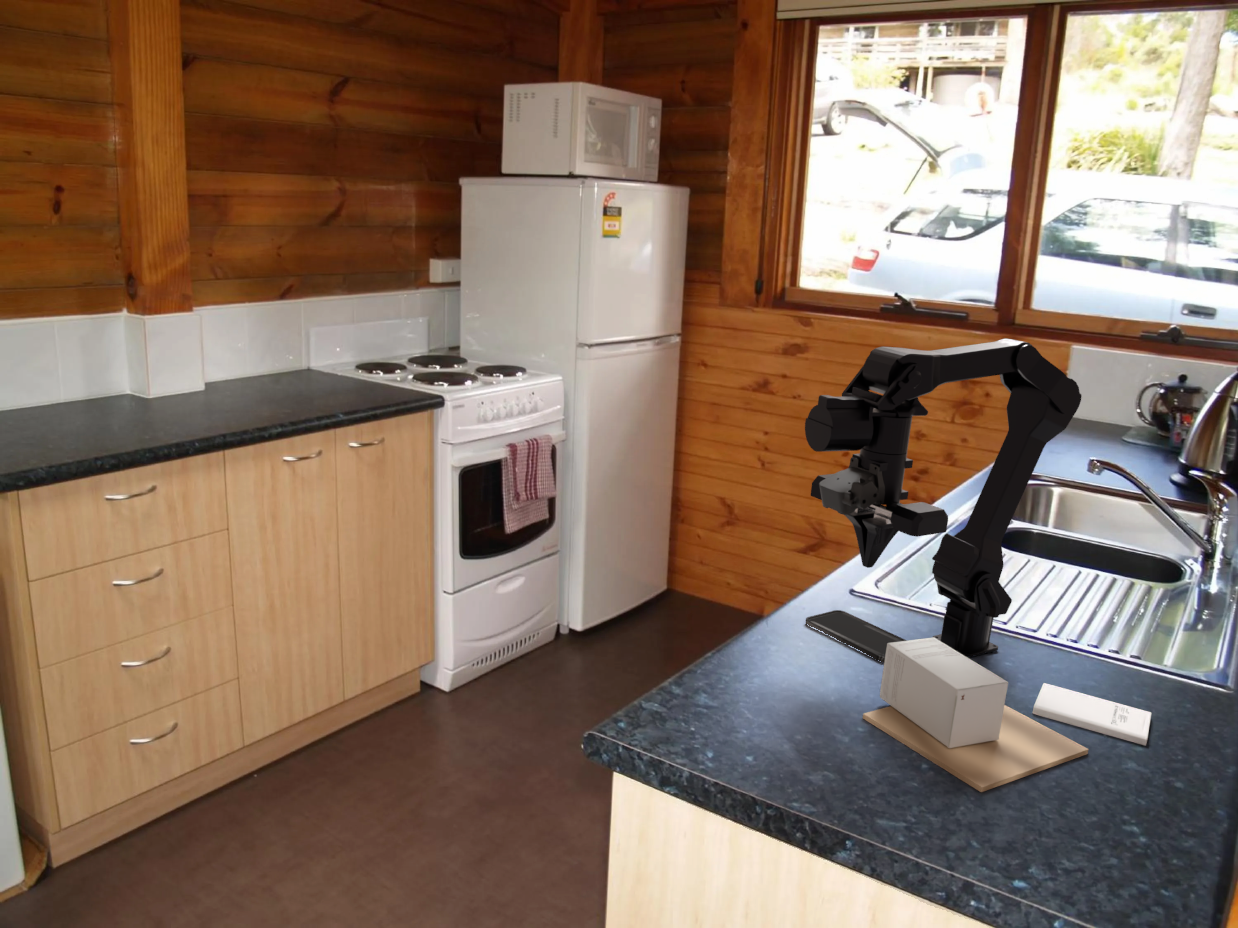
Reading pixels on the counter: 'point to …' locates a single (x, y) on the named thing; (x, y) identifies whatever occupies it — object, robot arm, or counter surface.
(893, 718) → the wooden cutting board
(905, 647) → the supplement box
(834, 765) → the counter surface
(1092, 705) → the external hard drive
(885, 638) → the phone
